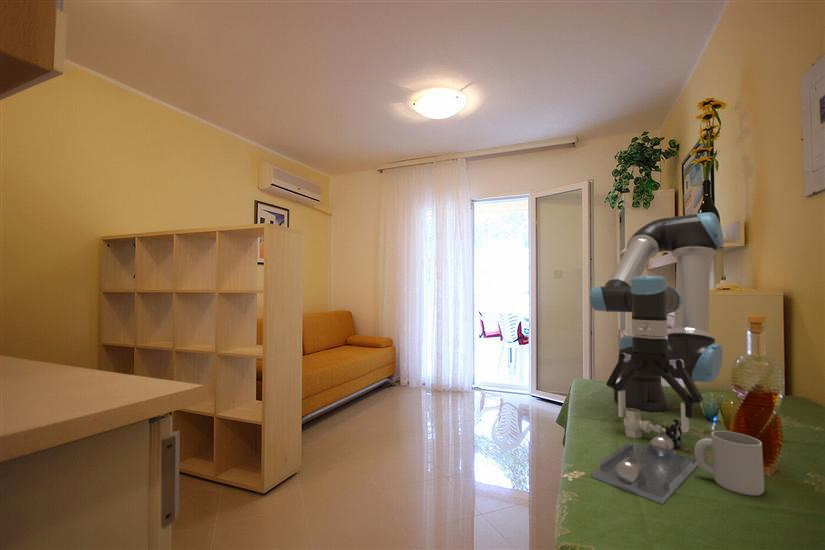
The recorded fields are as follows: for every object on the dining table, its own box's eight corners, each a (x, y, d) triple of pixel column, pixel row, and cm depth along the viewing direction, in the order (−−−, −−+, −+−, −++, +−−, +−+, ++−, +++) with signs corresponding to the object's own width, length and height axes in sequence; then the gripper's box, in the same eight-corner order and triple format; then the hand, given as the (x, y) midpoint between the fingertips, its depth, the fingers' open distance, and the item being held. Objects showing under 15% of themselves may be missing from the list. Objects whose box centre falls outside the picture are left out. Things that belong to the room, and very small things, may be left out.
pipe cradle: (635, 446, 86) (634, 427, 86) (697, 465, 76) (696, 442, 77) (591, 477, 71) (590, 453, 71) (662, 504, 62) (661, 476, 62)
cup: (769, 501, 63) (766, 449, 64) (696, 484, 69) (694, 436, 69) (759, 483, 69) (757, 436, 70) (693, 469, 75) (692, 425, 75)
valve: (619, 436, 92) (676, 452, 83) (618, 410, 93) (675, 423, 84) (628, 430, 97) (683, 444, 87) (628, 405, 97) (682, 417, 88)
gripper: (592, 333, 98) (593, 413, 96) (708, 342, 79) (712, 442, 77) (604, 332, 103) (605, 408, 101) (716, 341, 84) (720, 434, 82)
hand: (651, 423), depth 89 cm, fingers open, 13 cm apart
